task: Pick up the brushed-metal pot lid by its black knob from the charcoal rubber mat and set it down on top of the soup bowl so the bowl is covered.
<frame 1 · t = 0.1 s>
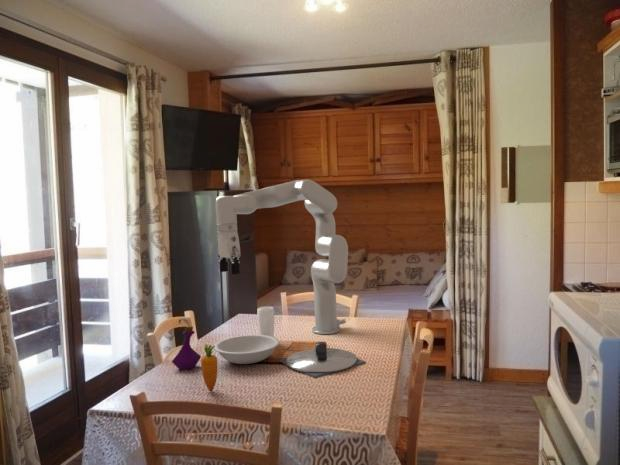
hand: (229, 272, 196), 31 cm above the table, fingers open, 9 cm apart
mat: (321, 362, 182), on the table
perfume bottle: (187, 368, 182), on the table
drinking glass: (267, 345, 207), on the table
soup bowl: (247, 361, 187), on the table
lid: (321, 360, 182), point 1 cm above the table, touching mat
carrot: (210, 392, 158), on the table
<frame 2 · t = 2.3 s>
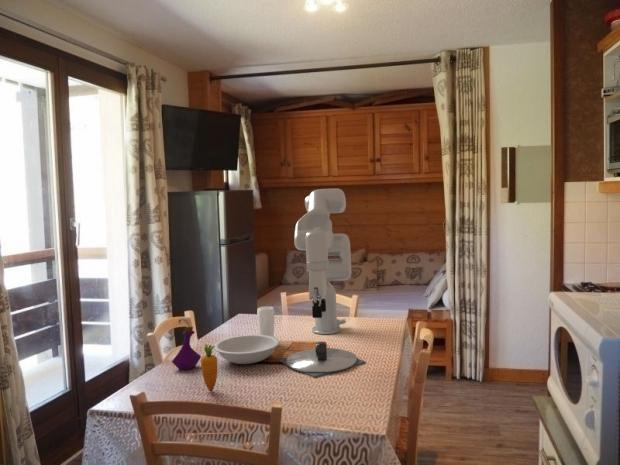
hand: (319, 314, 180), 17 cm above the table, fingers open, 9 cm apart
nothing on the table moved.
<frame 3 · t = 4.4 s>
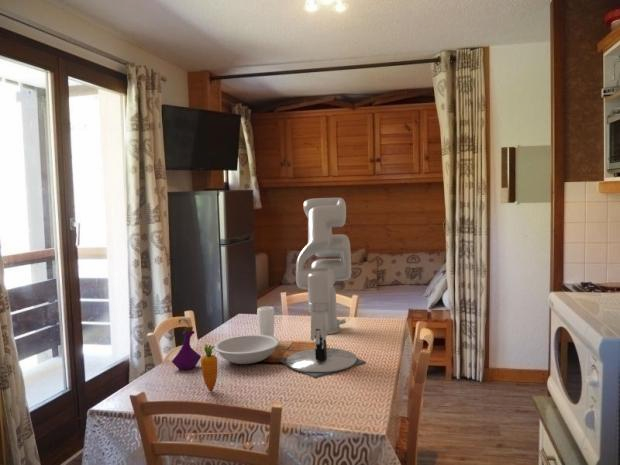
hand: (321, 357, 181), 2 cm above the table, fingers closed on lid, 4 cm apart
lid: (321, 360, 182), point 1 cm above the table, touching gripper, mat
everything else where it was.
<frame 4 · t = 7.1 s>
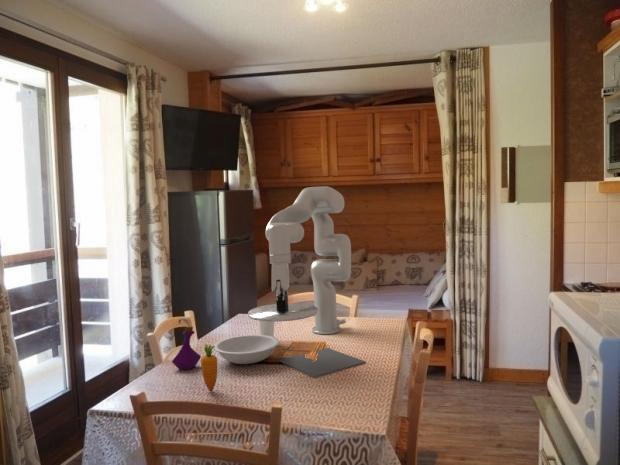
hand: (282, 309, 183), 19 cm above the table, fingers closed on lid, 4 cm apart
lid: (283, 312, 183), point 18 cm above the table, touching gripper
everything else where it was.
when the fingers open (9 cm above the table, at t = 10.0 s): lid drops 2 cm, resting on soup bowl.
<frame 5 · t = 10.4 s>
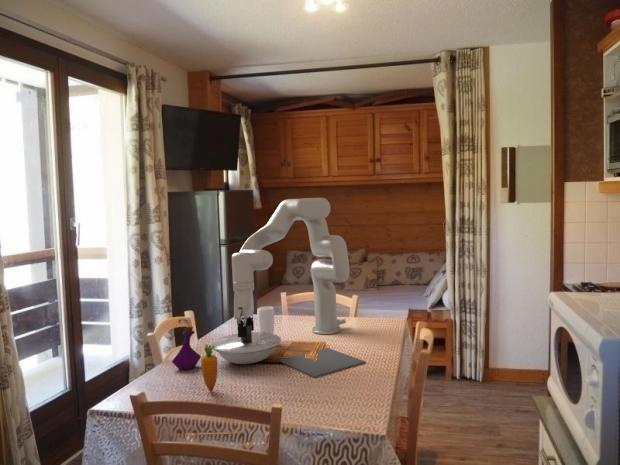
hand: (246, 333, 186), 10 cm above the table, fingers open, 8 cm apart
soup bowl: (247, 361, 187), on the table, touching lid
lid: (246, 343, 187), point 6 cm above the table, touching soup bowl
everything else where it was.
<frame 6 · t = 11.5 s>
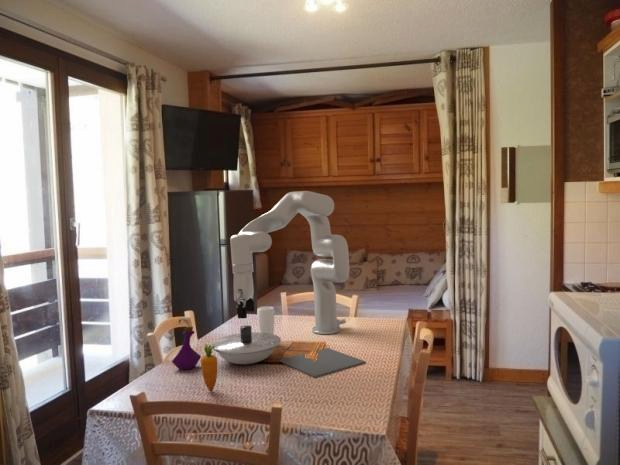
hand: (246, 314, 186), 17 cm above the table, fingers open, 9 cm apart
nothing on the table moved.
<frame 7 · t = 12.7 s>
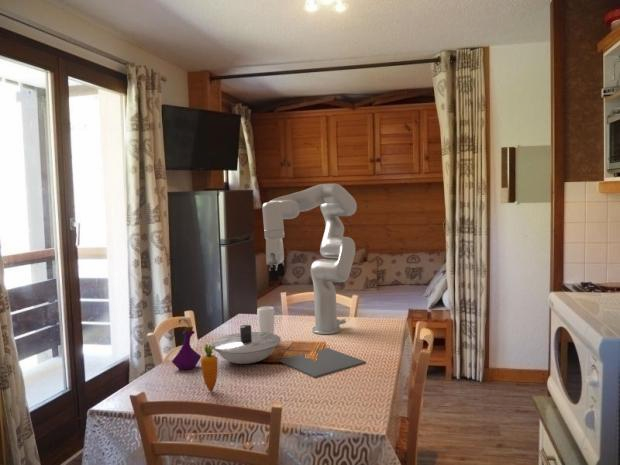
hand: (277, 278, 196), 28 cm above the table, fingers open, 9 cm apart
nothing on the table moved.
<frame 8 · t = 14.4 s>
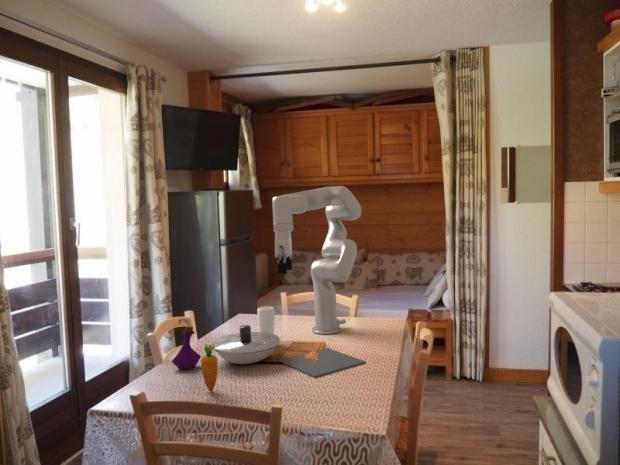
hand: (285, 271, 199), 30 cm above the table, fingers open, 9 cm apart
nothing on the table moved.
at the end: lid 0.2 cm from the soup bowl (horizontally); lid point 6.4 cm above the table; lid tilted 0° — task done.
